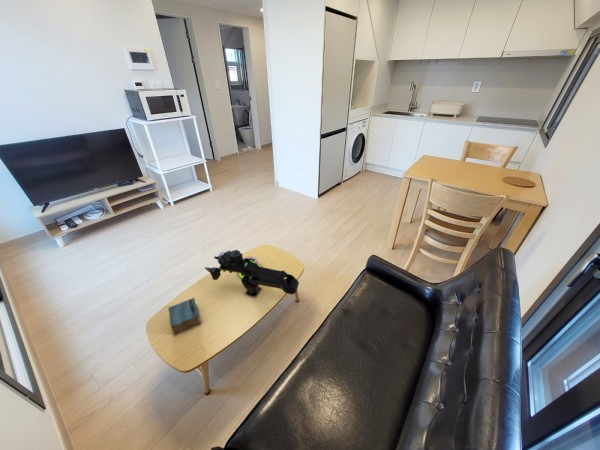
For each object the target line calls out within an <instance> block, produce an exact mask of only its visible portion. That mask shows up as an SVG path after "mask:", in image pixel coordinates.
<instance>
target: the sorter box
mask: <svg viewBox="0 0 600 450" xmlns="http://www.w3.org/2000/svg"><path fill="white" fill-rule="evenodd" d="M199 325H201V319H200V315H199V316H197V317H195V318H192V319H190V320H188V321H185V322H183V323H181V324H178V325H176V326H174V327H171V329H172V331H173V333H174V335H179V334H182V333H183V332H185V331H188V330H190V329H192V328H194V327H197V326H199Z"/></svg>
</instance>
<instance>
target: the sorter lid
mask: <svg viewBox="0 0 600 450" xmlns="http://www.w3.org/2000/svg"><path fill="white" fill-rule="evenodd" d="M168 314H169V320H170V327H171V328H172V327H174V326H176V325H178V324H181V323H183V322H185V321H188V320H190V319H192V318H195V317H197V316H199V317H200V315H199V310H198V307H197V304H196V299H195V297H192V298H189V299H187V300H184V301H182V302H179V303H177V304H174V305H172V306H169V307H168Z"/></svg>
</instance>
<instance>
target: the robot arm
mask: <svg viewBox="0 0 600 450" xmlns="http://www.w3.org/2000/svg"><path fill="white" fill-rule="evenodd" d="M243 258H244V259H243ZM213 259H215V260H217V263H218V264H219V267H216V266H212V267H209V266H207V267H206V266H205V267H204V269H205V270H206V271H207V272H209V273H210V276H211V278H212V280H214V281H217V280H219V278H220V277H221V276H222V274H221V272H223V273H226V272H229V274H232V273H237V274H239V273H241V276H243V275H244V276H243V278H240V281H241V284H242V286H243V287H244V289H245V290H246V292H245V294H246V295H249V296H252V297H254V298H255V297H257V295H258V294H259V293H260V291H261V287H260V286H265V287H268V288H275V289H279V290H282V291H283V292H284V293H285V294H287V295H295V294H296V293H297V290H298V287H299V285H300V282H299V280H298V279H297V278H296V277H295V276H294V275H292V274H291V273H290V274H289V273H287V271H286V270H282V269H281V270H279V269H278V270H277V269H273V268H268V267H263V266H261V265H260V264H259V263H257V264H256V263H253V262H251V261H250V260H249V259H247V257H244V256H243V253H242V252H241V251H240V250H238V249H234V250H232V251H231V250H227V251H223V252H220V253H219V254H218V255H215V256H214V257H213ZM246 262H247V265H246V266H244V265H245V264H246ZM258 264H259V265H260V266H261V267H260V266H259V265H258Z"/></svg>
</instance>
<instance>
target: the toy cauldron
mask: <svg viewBox="0 0 600 450" xmlns="http://www.w3.org/2000/svg"><path fill="white" fill-rule="evenodd" d="M244 258H245V257H243V259H244ZM246 258H247V259H249V260H250V261H251V262H253V263H256V264H258V265H259V266H260V267H262V266H261V265H260V264H259V260H258V259H257V258H256V257H254V256H250V255H249V256H248V255H247V256H246ZM246 265H247V262H246V264H245V265H244V266H246ZM238 276H239V278H240V279H242V278H243V276H244V275H243V276H241V273H238Z"/></svg>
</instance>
